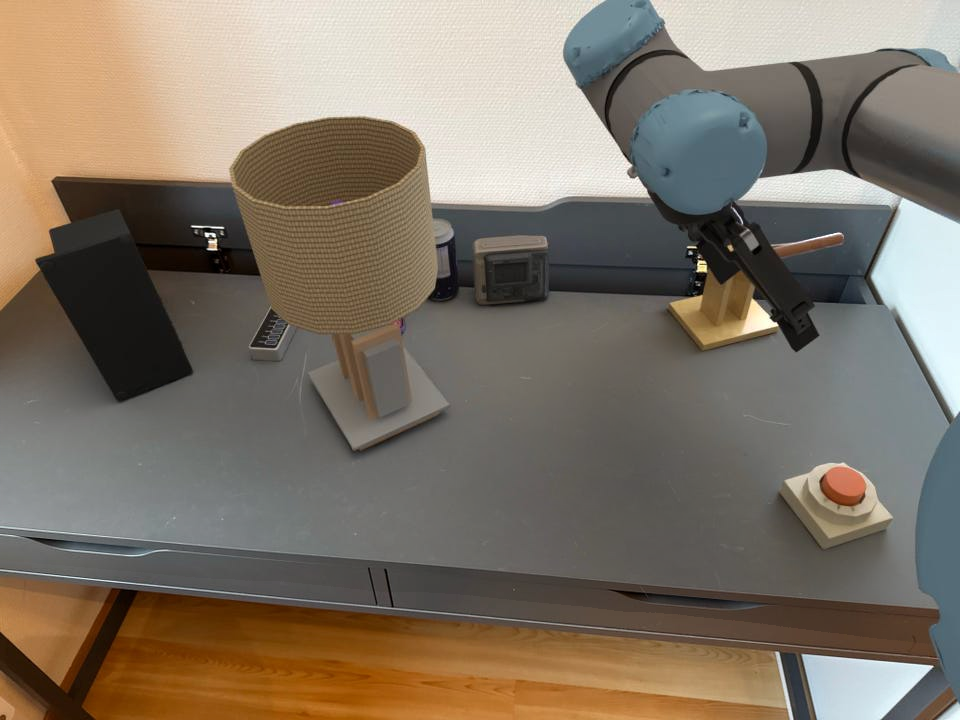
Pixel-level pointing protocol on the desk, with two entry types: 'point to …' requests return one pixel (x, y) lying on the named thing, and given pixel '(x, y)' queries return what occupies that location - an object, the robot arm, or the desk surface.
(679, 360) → the desk surface
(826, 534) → the button box
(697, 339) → the bracket
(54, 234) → the bookend
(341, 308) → the desk lamp
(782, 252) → the lever
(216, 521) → the desk surface
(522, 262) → the camera
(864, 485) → the button
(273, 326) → the multiport hub
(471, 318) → the desk surface
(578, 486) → the desk surface
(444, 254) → the beverage can
